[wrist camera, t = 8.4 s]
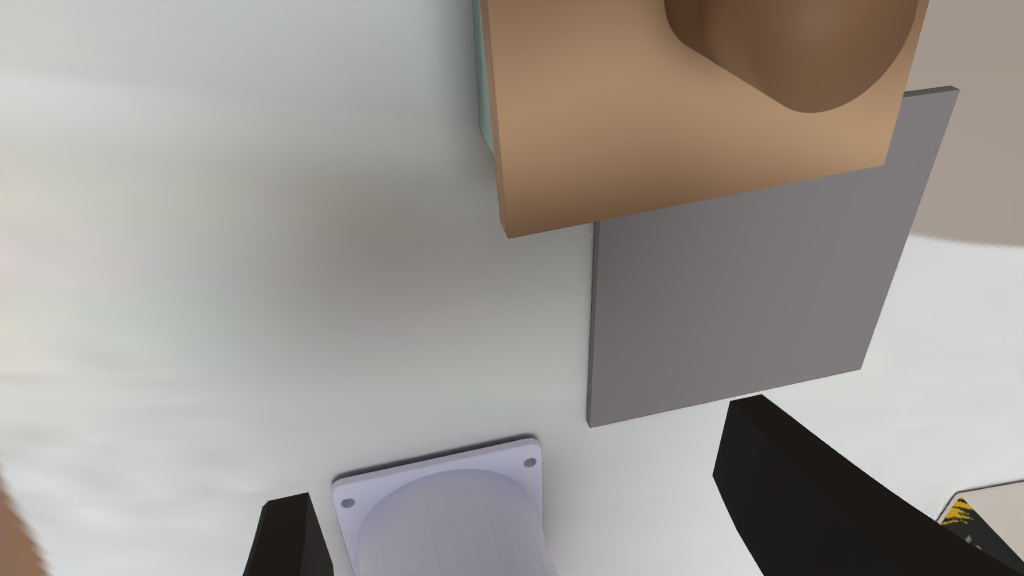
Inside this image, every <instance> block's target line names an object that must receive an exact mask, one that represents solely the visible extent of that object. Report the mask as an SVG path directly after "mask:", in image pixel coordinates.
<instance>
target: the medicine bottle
mask: <svg viewBox="0 0 1024 576" xmlns="http://www.w3.org/2000/svg"><path fill="white" fill-rule="evenodd" d="M937 523H939V524H940V525H942V526H943V527H945V528H946V529H948V530H949V531H951V532H952V533H954V534H956V535H957V536H959V537H960V538H962V539H964V540H965V541H967V542H968V543H970V544H972V545H973V546H975V547H977V548H978V549H980V550H982V551H983V552H985V553H987V554H988V555H990V556H992V557H994V558H995V559H997V560H999V561H1000V562H1002V563H1004V564H1005V565H1007V566H1009V567H1011V568H1012V569H1014V570H1016V571H1017V572H1019V573H1021V574H1022V575H1024V481H1023V482H1018V483H1012V484H1007V485H1001V486H996V487H990V488H985V489H979V490H974V491H968V492H963V493H958V494H956V495H955V496H954V497H953V499H952V500H951V502H950V503H949V505H948V506H947V508H946V509H945V511H944V512H943V514H942V515H941V517H940V518H939V520H938V521H937Z"/></svg>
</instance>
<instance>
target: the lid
mask: <svg viewBox="0 0 1024 576" xmlns="http://www.w3.org/2000/svg"><path fill="white" fill-rule="evenodd" d="M928 3H929V0H480V10H481V20H482V31H483V41H484V52H485V63H486V73H487V84H488V94H489V105H490V115H491V126H492V136H493V147H494V158H495V168H496V179H497V189H498V200H499V210H500V221H501V224H502V226H503V228H504V230H505V232H506V234H507V237H508V239H509V238H514V237H519V236H524V235H529V234H535V233H540V232H545V231H550V230H555V229H560V228H565V227H570V226H575V225H580V224H586V223H591V222H596V221H601V220H606V219H611V218H616V217H621V216H626V215H632V214H637V213H642V212H647V211H652V210H657V209H662V208H667V207H672V206H678V205H683V204H688V203H693V202H698V201H703V200H708V199H713V198H718V197H724V196H729V195H734V194H739V193H744V192H749V191H754V190H759V189H764V188H770V187H775V186H780V185H785V184H790V183H795V182H800V181H805V180H810V179H816V178H821V177H826V176H831V175H836V174H841V173H846V172H851V171H856V170H862V169H867V168H872V167H877V166H882V165H884V163H885V160H886V156H887V152H888V149H889V145H890V141H891V138H892V134H893V131H894V127H895V123H896V120H897V116H898V112H899V109H900V105H901V101H902V98H903V94H904V90H905V87H906V83H907V80H908V76H909V72H910V69H911V65H912V61H913V58H914V54H915V50H916V47H917V43H918V39H919V35H920V32H921V29H922V25H923V21H924V17H925V14H926V10H927V7H928Z"/></svg>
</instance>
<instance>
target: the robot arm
mask: <svg viewBox="0 0 1024 576" xmlns="http://www.w3.org/2000/svg"><path fill="white" fill-rule="evenodd" d="M529 458H530V459H529ZM526 459H528V460H526ZM712 476H713V478H714V480H715V483H716V485H717V487H718V490H719V492H720V494H721V497H722V499H723V501H724V503H725V506H726V508H727V510H728V512H729V514H730V516H731V519H732V521H733V523H734V525H735V527H736V529H737V531H738V533H739V535H740V536H741V538H742V540H743V541H744V543H745V545H746V547H747V548H748V550H749V552H750V553H751V555H752V557H753V558H754V560H755V562H756V563H757V565H758V567H759V568H760V570H761V572H762V573H763V575H764V576H1024V575H1022V574H1021V573H1019V572H1017V571H1016V570H1014V569H1012V568H1011V567H1009V566H1007V565H1005V564H1004V563H1002V562H1000V561H999V560H997V559H995V558H994V557H992V556H990V555H988V554H987V553H985V552H983V551H982V550H980V549H978V548H977V547H975V546H973V545H972V544H970V543H968V542H967V541H965V540H964V539H962V538H960V537H959V536H957V535H956V534H954V533H952V532H951V531H949V530H948V529H946V528H945V527H943V526H942V525H940V524H939V523H937V522H936V521H934V520H933V519H931V518H930V517H928V516H927V515H925V514H924V513H922V512H921V511H919V510H918V509H916V508H915V507H913V506H912V505H910V504H909V503H907V502H906V501H904V500H903V499H901V498H900V497H899V496H897V495H896V494H894V493H893V492H891V491H890V490H889V489H887V488H886V487H884V486H883V485H882V484H880V483H879V482H877V481H876V480H875V479H873V478H872V477H870V476H869V475H868V474H866V473H865V472H864V471H862V470H861V469H859V468H858V467H857V466H855V465H854V464H853V463H851V462H850V461H849V460H847V459H846V458H845V457H843V456H842V455H841V454H839V453H838V452H837V451H835V450H834V449H833V448H831V447H830V446H829V445H827V444H826V443H825V442H824V441H822V440H821V439H820V438H818V437H817V436H816V435H814V434H813V433H812V432H810V431H809V430H808V429H807V428H805V427H804V426H803V425H801V424H800V423H799V422H797V421H796V420H795V419H794V418H792V417H791V416H790V415H788V414H787V413H786V412H785V411H783V410H782V409H781V408H779V407H778V406H777V405H775V404H774V403H773V402H771V401H770V400H769V399H767V398H766V397H765V396H763V395H762V394H761V395H756V396H751V397H747V398H742V399H737V400H733V401H730V404H729V408H728V412H727V416H726V420H725V425H724V429H723V433H722V437H721V441H720V446H719V450H718V454H717V458H716V463H715V467H714V471H713V475H712ZM331 494H332V500H333V503H334V506H335V510H336V513H337V517H338V520H339V523H340V527H341V530H342V533H343V537H344V540H345V544H346V547H347V550H348V554H349V557H350V560H351V564H352V567H353V571H354V574H355V576H557V575H556V572H555V569H554V566H553V562H552V559H551V556H550V553H549V550H548V547H547V544H546V541H545V538H544V535H543V502H542V449H541V446H540V443H539V441H538V440H536V439H533V438H527V439H522V440H518V441H513V442H508V443H504V444H499V445H494V446H490V447H485V448H480V449H476V450H471V451H467V452H462V453H457V454H453V455H448V456H443V457H439V458H434V459H430V460H425V461H420V462H416V463H411V464H406V465H402V466H397V467H392V468H388V469H383V470H379V471H374V472H369V473H365V474H360V475H355V476H351V477H346V478H342V479H339V480H337V481H336V482H334V483H333V485H332V486H331ZM243 576H334V572H333V564H332V561H331V558H330V555H329V552H328V549H327V546H326V543H325V540H324V537H323V534H322V531H321V528H320V525H319V522H318V519H317V516H316V513H315V510H314V507H313V504H312V501H311V499H310V496H309V493H308V492H307V493H303V494H298V495H294V496H289V497H284V498H280V499H275V500H270V501H268V502H267V503H266V504H265V505H264V506H263V507H262V511H261V515H260V519H259V523H258V527H257V531H256V534H255V538H254V541H253V545H252V548H251V551H250V554H249V558H248V561H247V564H246V567H245V570H244V573H243Z"/></svg>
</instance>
